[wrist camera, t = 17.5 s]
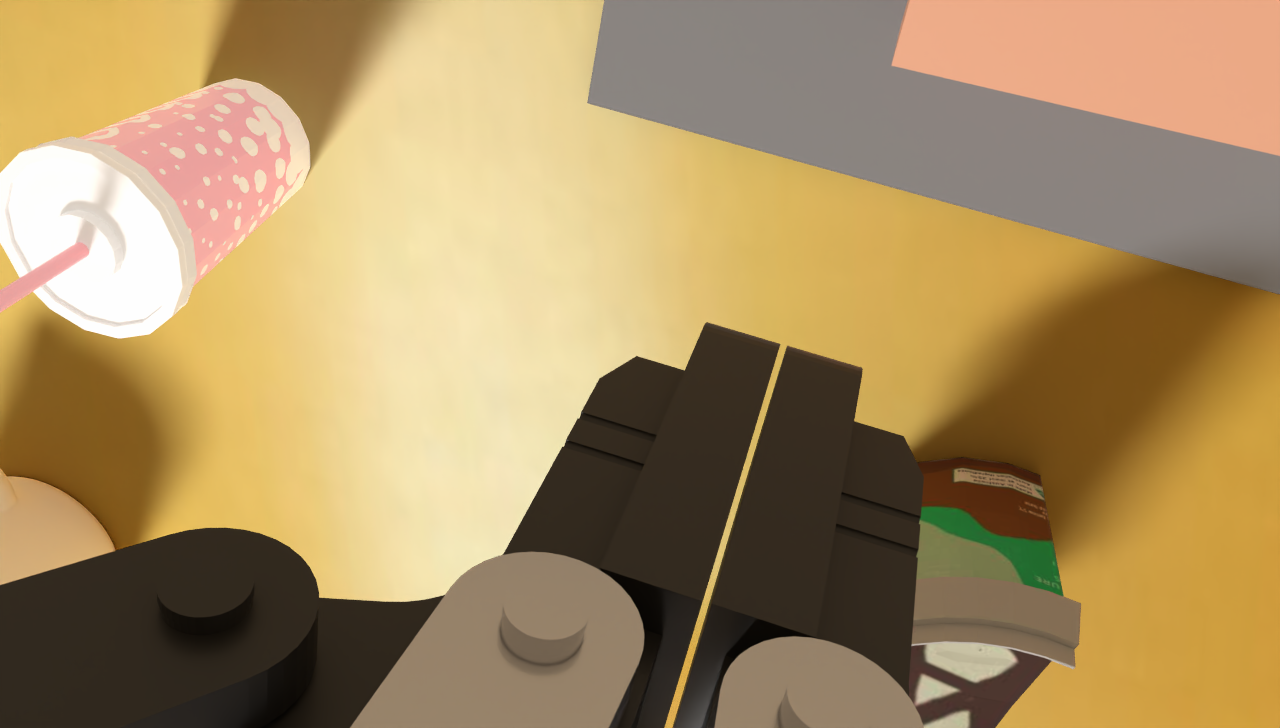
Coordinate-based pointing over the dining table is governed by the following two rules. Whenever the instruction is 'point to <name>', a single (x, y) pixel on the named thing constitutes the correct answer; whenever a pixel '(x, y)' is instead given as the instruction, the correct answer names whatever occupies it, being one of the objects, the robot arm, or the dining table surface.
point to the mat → (936, 129)
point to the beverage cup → (147, 204)
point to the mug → (44, 529)
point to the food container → (984, 594)
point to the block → (1114, 58)
